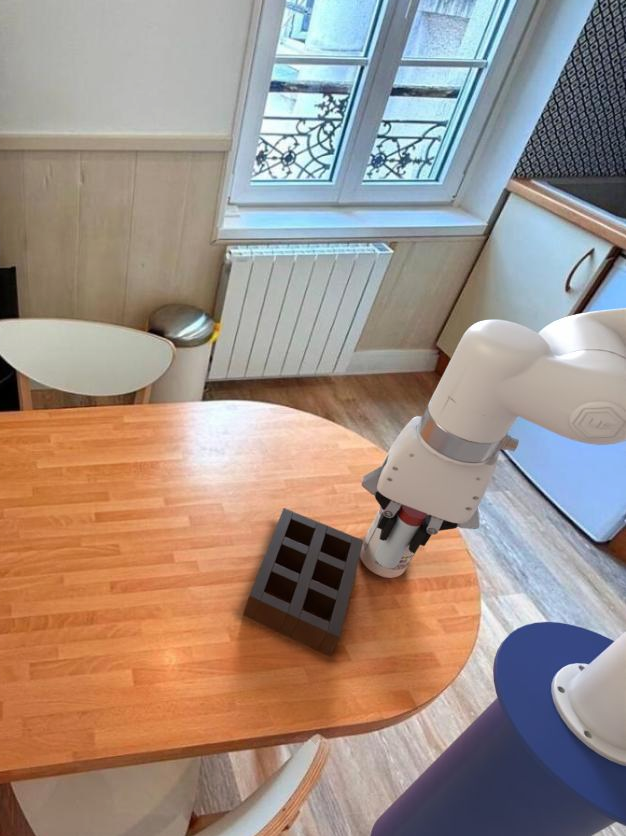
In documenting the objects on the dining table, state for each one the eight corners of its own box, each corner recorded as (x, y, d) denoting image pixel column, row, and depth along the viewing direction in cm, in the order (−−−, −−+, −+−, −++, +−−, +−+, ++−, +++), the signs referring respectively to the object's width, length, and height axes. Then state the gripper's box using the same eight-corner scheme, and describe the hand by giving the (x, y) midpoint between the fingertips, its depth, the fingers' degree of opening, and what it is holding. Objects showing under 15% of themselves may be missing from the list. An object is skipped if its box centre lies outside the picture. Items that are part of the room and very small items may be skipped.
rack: (354, 559, 96) (363, 540, 92) (329, 656, 83) (339, 637, 80) (276, 527, 100) (283, 507, 97) (242, 614, 87) (249, 595, 84)
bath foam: (414, 572, 94) (468, 485, 82) (378, 584, 92) (427, 498, 80) (384, 537, 99) (430, 450, 87) (349, 548, 97) (391, 461, 85)
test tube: (399, 555, 79) (428, 505, 73) (396, 572, 77) (426, 523, 71) (376, 546, 80) (403, 496, 74) (372, 562, 78) (400, 512, 72)
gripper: (544, 437, 64) (470, 543, 76) (384, 386, 70) (338, 492, 81) (547, 484, 59) (467, 590, 70) (373, 424, 64) (325, 532, 76)
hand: (398, 537), depth 76 cm, fingers closed on test tube, 2 cm apart
